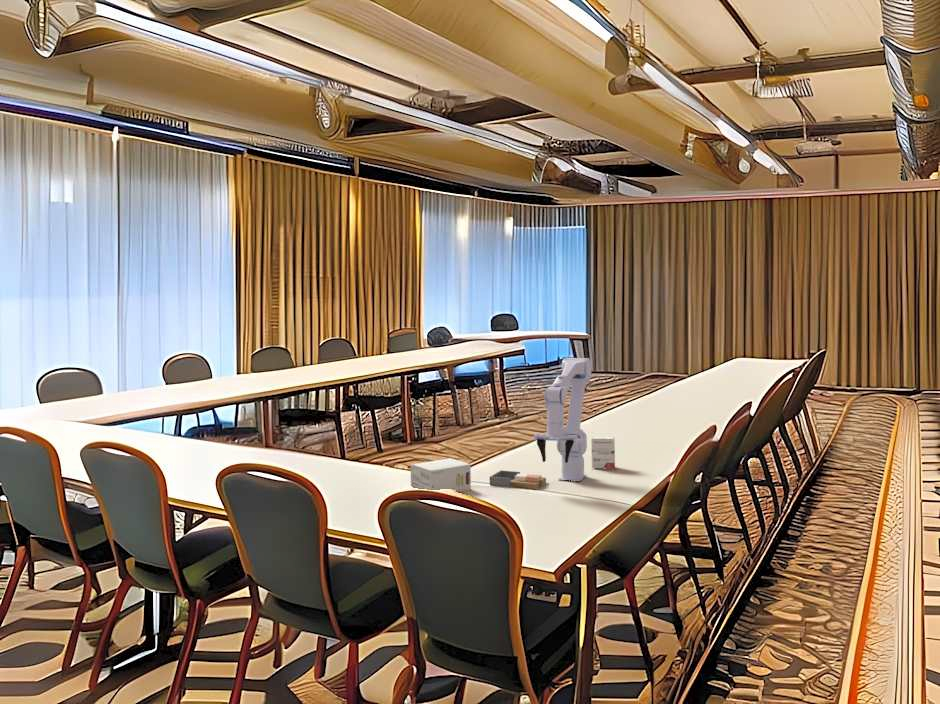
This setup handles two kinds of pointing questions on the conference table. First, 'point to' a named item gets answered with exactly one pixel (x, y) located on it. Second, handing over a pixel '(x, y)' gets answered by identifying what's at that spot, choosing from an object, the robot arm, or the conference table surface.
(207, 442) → the conference table surface
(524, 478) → the cream tile
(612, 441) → the ink box
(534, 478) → the terracotta tile
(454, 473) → the supplement box
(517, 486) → the walnut board
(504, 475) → the slate tray
